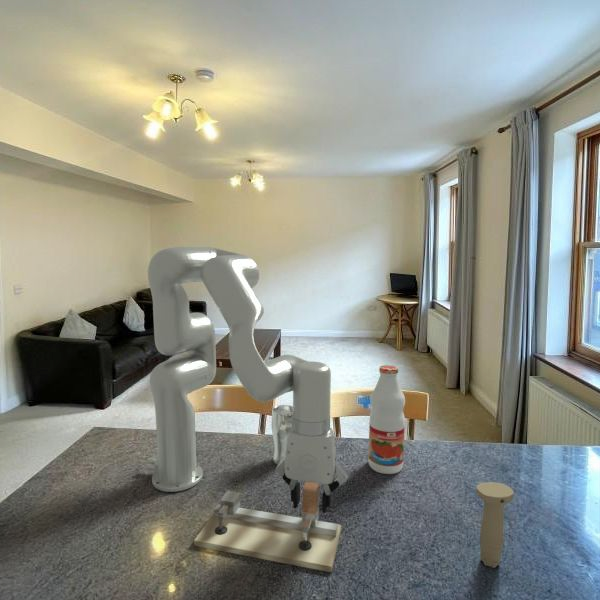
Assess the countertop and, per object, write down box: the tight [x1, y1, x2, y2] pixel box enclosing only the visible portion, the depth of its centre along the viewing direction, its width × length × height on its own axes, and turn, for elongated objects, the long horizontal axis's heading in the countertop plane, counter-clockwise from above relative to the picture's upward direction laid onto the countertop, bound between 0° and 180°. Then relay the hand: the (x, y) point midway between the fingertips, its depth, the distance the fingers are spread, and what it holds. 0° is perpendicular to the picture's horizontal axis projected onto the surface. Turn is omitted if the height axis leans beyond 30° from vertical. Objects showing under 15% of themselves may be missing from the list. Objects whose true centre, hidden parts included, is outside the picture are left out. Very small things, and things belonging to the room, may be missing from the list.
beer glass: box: [271, 404, 293, 465], centre depth 116 cm, size 7×7×15 cm
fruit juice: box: [367, 364, 406, 475], centre depth 113 cm, size 9×9×28 cm
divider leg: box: [301, 482, 320, 545], centre depth 85 cm, size 3×7×9 cm, turn 166°
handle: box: [475, 481, 515, 569], centre depth 79 cm, size 5×6×15 cm
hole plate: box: [193, 490, 342, 573], centre depth 86 cm, size 28×12×6 cm, turn 76°
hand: (310, 505), depth 86 cm, fingers open, 5 cm apart
